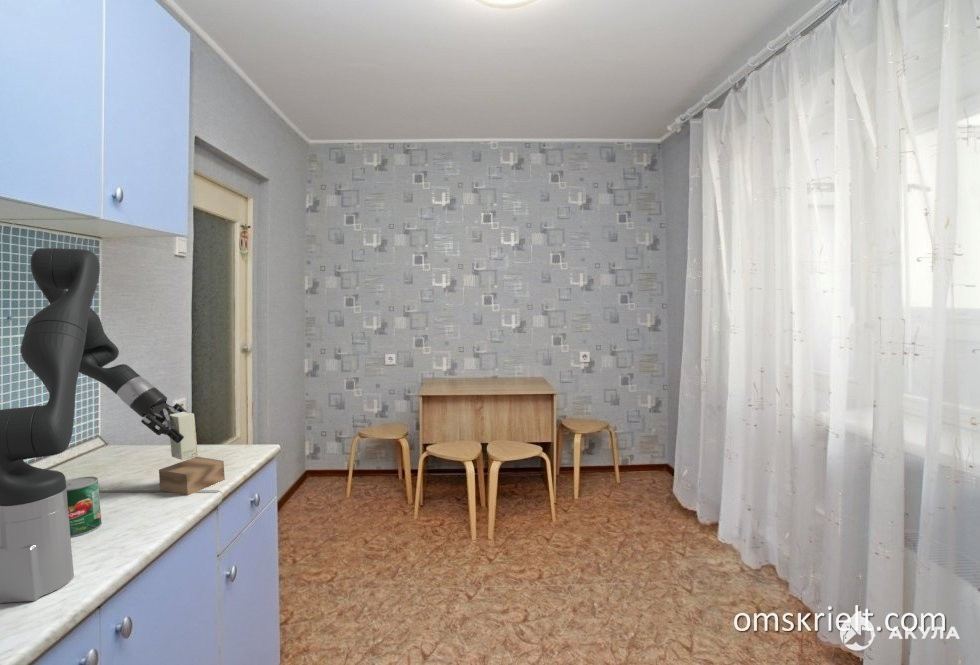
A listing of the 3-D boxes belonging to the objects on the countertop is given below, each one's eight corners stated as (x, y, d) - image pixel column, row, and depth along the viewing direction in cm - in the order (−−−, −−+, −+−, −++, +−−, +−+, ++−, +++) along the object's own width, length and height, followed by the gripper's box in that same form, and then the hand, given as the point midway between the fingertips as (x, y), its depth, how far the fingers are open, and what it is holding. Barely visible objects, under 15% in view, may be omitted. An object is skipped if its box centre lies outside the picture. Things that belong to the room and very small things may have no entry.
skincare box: (198, 455, 129) (195, 413, 128) (180, 460, 125) (178, 417, 124) (187, 452, 132) (184, 410, 131) (169, 456, 128) (167, 414, 127)
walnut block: (187, 496, 122) (186, 474, 122) (160, 490, 126) (158, 469, 126) (224, 480, 133) (223, 460, 132) (198, 476, 136) (196, 456, 136)
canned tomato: (97, 518, 110) (94, 473, 109) (105, 527, 105) (101, 481, 104) (52, 531, 104) (48, 484, 103) (58, 542, 99) (54, 493, 98)
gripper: (133, 392, 119) (183, 434, 121) (167, 382, 134) (211, 420, 135) (113, 412, 119) (163, 454, 121) (149, 400, 134) (193, 438, 135)
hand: (188, 436), depth 128 cm, fingers closed on skincare box, 7 cm apart
